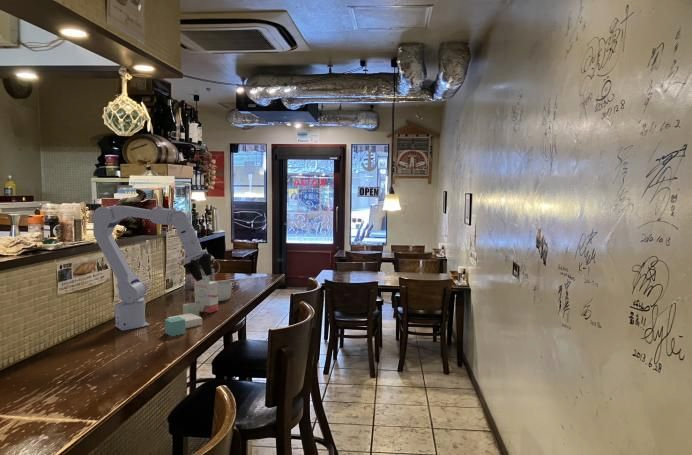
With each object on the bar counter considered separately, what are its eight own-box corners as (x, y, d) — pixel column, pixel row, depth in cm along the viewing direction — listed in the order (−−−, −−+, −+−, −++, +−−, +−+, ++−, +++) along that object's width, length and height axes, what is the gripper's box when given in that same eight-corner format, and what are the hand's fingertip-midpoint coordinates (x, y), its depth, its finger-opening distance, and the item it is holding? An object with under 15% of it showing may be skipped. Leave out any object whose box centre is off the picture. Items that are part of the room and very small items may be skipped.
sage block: (188, 318, 182) (187, 306, 182) (183, 315, 186) (182, 304, 185) (199, 315, 185) (199, 304, 185) (194, 313, 189) (193, 302, 188)
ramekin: (236, 295, 219) (236, 280, 219) (226, 302, 206) (226, 286, 206) (208, 295, 221) (208, 280, 220) (196, 302, 208) (196, 286, 207)
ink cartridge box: (219, 310, 193) (218, 274, 192) (210, 313, 189) (209, 276, 188) (203, 307, 197) (202, 272, 196) (194, 310, 193) (193, 274, 192)
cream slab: (178, 330, 167) (177, 322, 167) (167, 325, 174) (167, 317, 173) (202, 325, 173) (202, 317, 173) (191, 320, 180) (191, 313, 179)
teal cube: (171, 337, 159) (170, 322, 159) (165, 333, 163) (164, 319, 162) (185, 333, 163) (185, 319, 162) (179, 330, 166) (178, 316, 166)
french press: (195, 283, 247) (194, 235, 245) (218, 281, 252) (217, 234, 250) (198, 287, 238) (196, 237, 236) (221, 285, 243) (220, 236, 241)
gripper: (190, 242, 162) (205, 279, 163) (209, 235, 176) (222, 269, 178) (172, 249, 164) (187, 285, 165) (192, 241, 178) (206, 275, 179)
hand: (204, 277), depth 171 cm, fingers open, 7 cm apart
